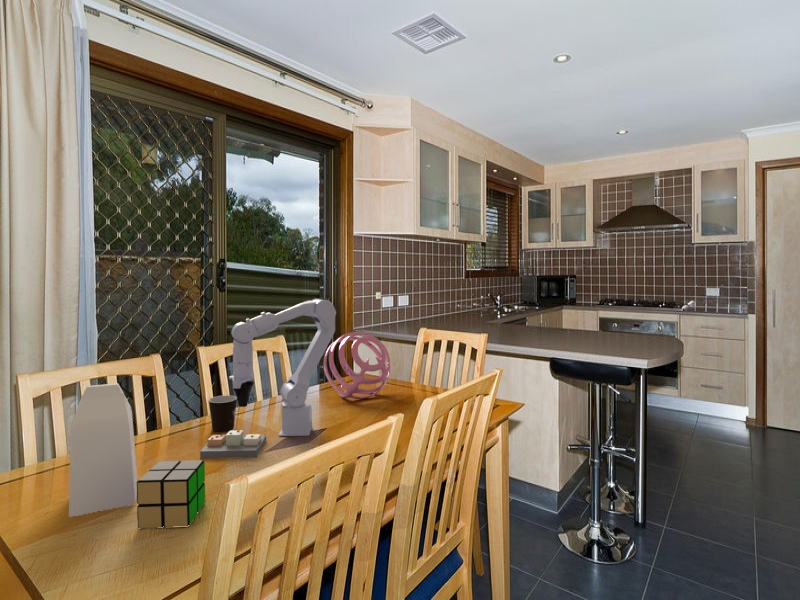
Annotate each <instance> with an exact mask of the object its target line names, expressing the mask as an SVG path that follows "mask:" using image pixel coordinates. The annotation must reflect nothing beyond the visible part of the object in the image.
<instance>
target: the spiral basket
mask: <svg viewBox="0 0 800 600" xmlns="http://www.w3.org/2000/svg"><path fill="white" fill-rule="evenodd" d="M357 336H361V337H357ZM349 341H353V343H352V344H351V349H350V351H351V357H352V359H353V361H354V363H355V364H356V365H357V367H359V368H360V372H359V373H357V372H355V371H354V370H353V369H352V368H351V366H350V365H349V364H348V362H347V359H346V355H345V348H346V345H347V343H348V342H349ZM338 343H340V344H339V347H338V360H339V364H340V366H341V368H342V369H343V371H344V372H345V374H346V375H347V376H349V377H350V378H351V379H352V380H353V382H349V383H348V382H347V381H346V380H345V379H344V378H343V377H342V376H341V375H340V374H339V372H338V369H337V367H336V365H335V361H334V353H335V348H336V346H337V344H338ZM361 344H362V345H364V346H366V347H368V348H369V349H370V350H371V351H372V352H373V353H374V354H375V355H376V356H375V359H376V361H377V363H376V364H370V362H369V361H370V357H368V358H367V359H366V361H364V360H363V359H362V358H361V357H360V355H359V351H358V350H359V346H360V345H361ZM373 344H375V345H376V346H377V347H378V348H377V347H376V346H374V345H373ZM378 349H379V350H380V351H379V350H378ZM324 353H325V354H324V357H323V370H324V374H325V376H326V379H327V381H328V382H329V384H330V385H331V387H333V388H334V390H335V391H337V393H338V394H339V396H340V397H341V398H343V399H353V400H366V399H365V398H367V399H370V398H372V397H374V396H375V395H376V394H378V393H379V392H380V391H382V389H383V388H384V387H385V385H386V384H387V382H388V380H389V377H390V374H391V358H390V353H389V351H388V349H387V348H386V346H385V344H384V343H383V342H382V341H381V340H380V339H379V338H377V337H376V336H374V335H373V334H369V333H368V332H367V333H366V332H358V331H357V332H355V331H353V332H347V333H345V334H342V335H340V336H339V337H338V338H336V339H335V340H334V341H333V342H331V344H330V345H329V346H328V347H327V348H326V350H325V352H324ZM327 359H328V360H327ZM327 361H328V362H327ZM327 363H329V368H330V371H331V373H332V376H333V377H334V379H335V380H337V382H338V383H339V384H340V387H339V386H338V385H337V384H336V383H335V382H334V380H333V379H332V377H331V376H330V373H329V370H328V364H327ZM386 364H387V365H386ZM379 370H381V375H379V376H377V377H374V378H373V377H371V378H368V377H366V376H365V373H367V372H371V373H372V372H373V373H374V372H378V371H379ZM378 383H380V384H379V386H377V387H375V388H371V389H370V388H369V389H365V388H363V387H359V386H360V385H361V384H362V385H376V384H378ZM344 389H346V391H345V390H344ZM371 393H373V394H371ZM353 394H358V395H365V396H357V395H353ZM369 397H370V398H369Z"/></svg>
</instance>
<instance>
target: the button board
mask: <svg viewBox="0 0 800 600" xmlns="http://www.w3.org/2000/svg"><path fill="white" fill-rule="evenodd" d="M246 435H247V434H245V435H244V434H243V443H242V444H241V445H240V446H226V443H225V444H224V445H223V446H208V442H207V443H206V444H205V445H204V447H203V448H202V449H201V450H200V451H199V455H200V456H199V458H200V459H236V458H237V459H239V458H243V459H244V458H247V459H248V458H251V459H252V458H257V457H258V455H260V452H261V451H262V449H263V447H264V446H265V444H266V443H267V434H261V442H260V444H259V445H250V446H244V438H245V437H246Z"/></svg>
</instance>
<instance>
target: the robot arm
mask: <svg viewBox="0 0 800 600" xmlns="http://www.w3.org/2000/svg"><path fill="white" fill-rule="evenodd" d="M336 315H337V311H336V309H335V306H334V304H333V303H332V302H331V301H330V300H327V299H321V298H313V299H312V300H305V301H303V302H300V303H298V304H295V305H294V306H291V307H288V308H286V309H285V310H281V311H279V312H277V313H271V312H266V311H263V312H260V315H257V316H255V317H253V318H251V319H250V318H246V319H245V322H243V321H240V322H237V323H235V324H234V326H233V327H232V329H231V331H230V334H231V336H232V338H233V342H232V344H233V346H232V375H230V376H229V377H228V379H229V380H232V385H231V388H232V389H233V391H234V393H235V395H236V396H235V397H237V404H238V407H239V408H244V407H245V408H247V406H248V404H249V399H250V394H251V392H252V388H253V386H254V384H255V381H254V380H253V379H254V346H253V340H254V338H255V337H256V338H257V337H259V336H262V335H265V334H268V333H270V332H272V331H276V330H277V327H278V325H279V324H282V323H285V322H287V321H291V320H293V319H296V318H299V317H302V316H305V317H306V316H307V317H311V318H312V319H313V321H314V323H315V325H316V328H317V330H316V332H315V334H314V336H313V338H312V340H311V341H310V344H309V345H308V347H307V349H306V351H305V353H304V355H303V357H302V358H301V361H300V363H299V364H298V367H297V369H296V370H295V371H294V373H293V374H292V375H290V376H289V378H288V380H287V381H285V383H283V384H282V385H281V387H280V390H279V391H280V396H281V397H282V399H283V401H282V402H281V429H280V432H279V433H278V437H289V436H290V437H296V436H297V437H298V436H299V437H301V436H302V437H303V436H306V437H307V436H310V434H311V431H312V428H313V417H312V414H313V413H312V412H313V411H312V404H307V403H306V400H307V394H308V390H309V389H310V381H311V377H312V376H313V374H314V372H315V370H316V368H317V367H318V364H319V363H320V361H321V359H322V357H323V355H324V353H325V352H326V351H327V349H328V347H329V346H328V345H329V343H330V342H331V340H332V338H333V336H334V334H335V332H336Z"/></svg>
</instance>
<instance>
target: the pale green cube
mask: <svg viewBox="0 0 800 600" xmlns="http://www.w3.org/2000/svg"><path fill="white" fill-rule="evenodd" d="M225 435H226V446H240V445H241V444H242V443H243V435H244V430H243V429H242V430H241V429H237V430H235V429H233V430H230V431H228V432H226V434H225Z"/></svg>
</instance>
